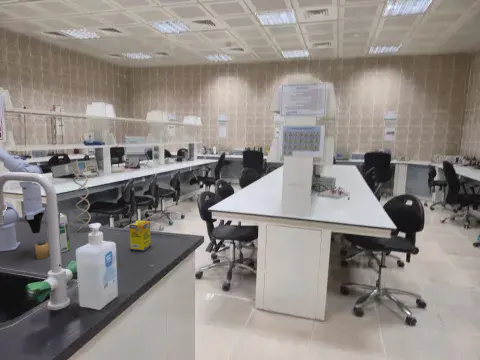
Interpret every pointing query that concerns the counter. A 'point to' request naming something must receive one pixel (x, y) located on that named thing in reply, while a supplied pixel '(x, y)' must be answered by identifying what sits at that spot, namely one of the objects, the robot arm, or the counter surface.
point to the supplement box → (140, 235)
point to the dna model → (82, 198)
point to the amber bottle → (42, 249)
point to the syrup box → (63, 233)
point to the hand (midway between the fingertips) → (36, 232)
